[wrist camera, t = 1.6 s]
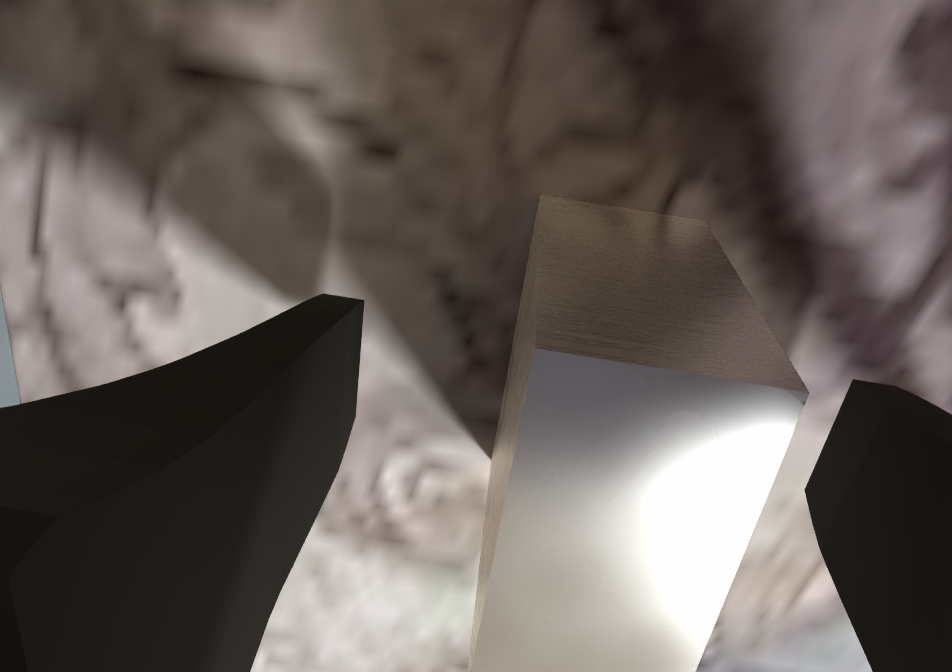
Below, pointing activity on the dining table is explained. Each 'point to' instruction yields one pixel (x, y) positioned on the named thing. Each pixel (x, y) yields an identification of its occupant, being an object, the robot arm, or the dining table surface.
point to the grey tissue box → (6, 366)
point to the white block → (626, 446)
